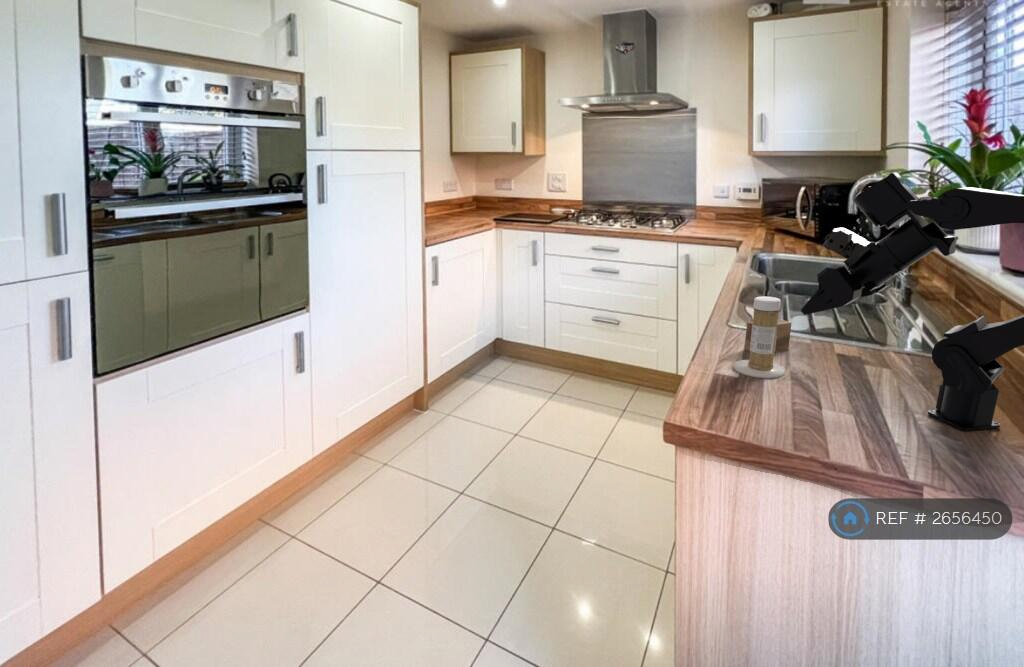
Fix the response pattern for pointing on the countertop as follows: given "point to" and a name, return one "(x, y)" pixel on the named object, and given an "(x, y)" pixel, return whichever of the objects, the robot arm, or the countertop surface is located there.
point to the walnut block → (781, 335)
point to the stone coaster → (746, 370)
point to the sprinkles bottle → (764, 332)
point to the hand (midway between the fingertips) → (814, 308)
